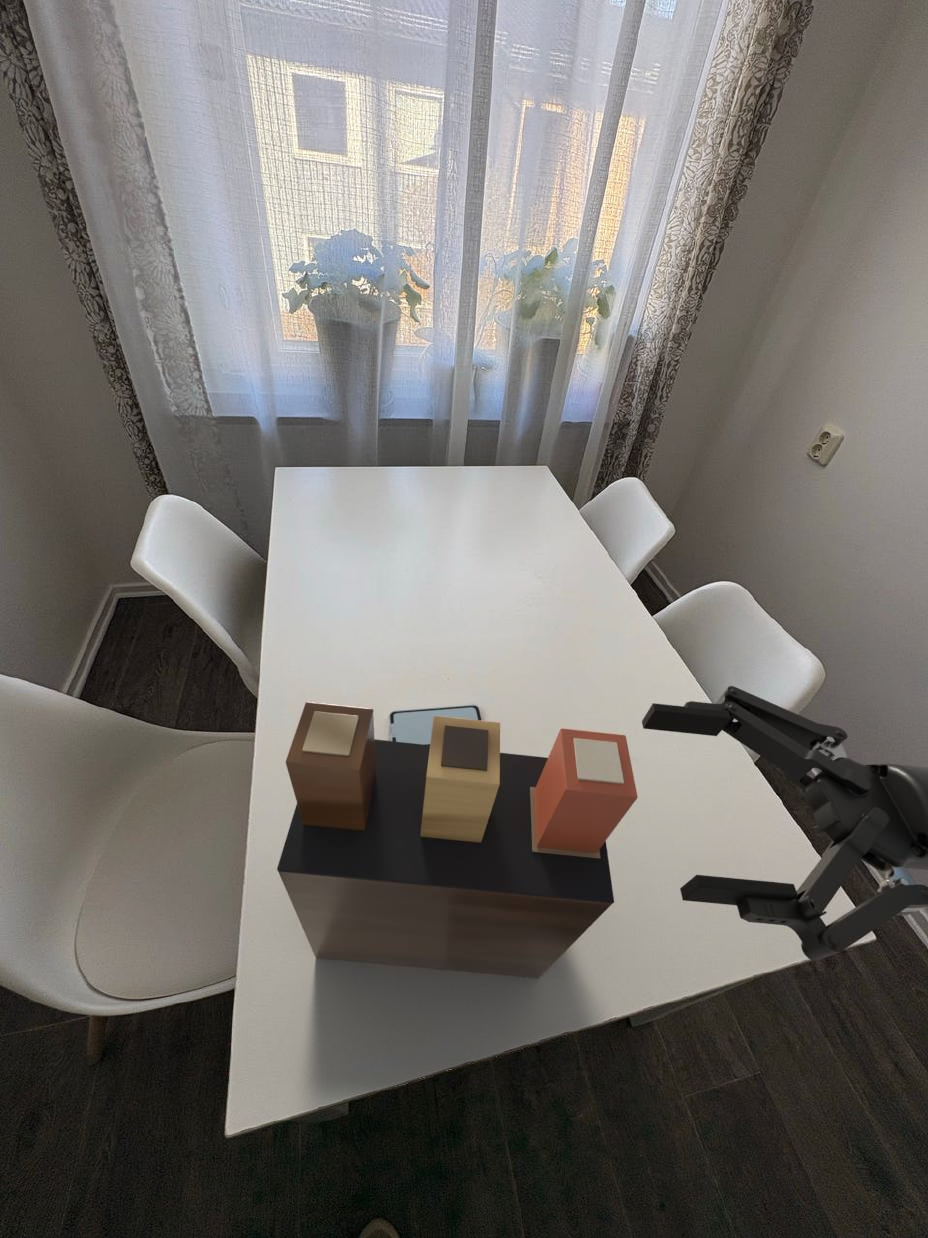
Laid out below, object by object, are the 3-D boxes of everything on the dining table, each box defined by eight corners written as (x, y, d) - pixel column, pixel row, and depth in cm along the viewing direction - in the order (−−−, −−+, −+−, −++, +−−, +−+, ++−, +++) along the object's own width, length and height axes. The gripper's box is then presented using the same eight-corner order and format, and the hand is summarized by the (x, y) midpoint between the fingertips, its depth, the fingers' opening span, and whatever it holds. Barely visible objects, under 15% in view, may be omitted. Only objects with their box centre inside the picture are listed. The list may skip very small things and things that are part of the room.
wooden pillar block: (481, 843, 42) (500, 783, 34) (420, 836, 42) (426, 775, 34) (483, 785, 45) (500, 720, 38) (426, 779, 45) (433, 713, 38)
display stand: (539, 979, 59) (612, 904, 40) (315, 958, 59) (277, 871, 39) (535, 870, 68) (594, 764, 48) (339, 851, 67) (318, 735, 48)
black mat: (612, 904, 40) (615, 902, 39) (277, 871, 39) (276, 868, 39) (594, 764, 48) (595, 761, 48) (318, 735, 48) (317, 732, 47)
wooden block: (364, 831, 41) (359, 768, 34) (302, 825, 41) (284, 760, 34) (376, 774, 45) (373, 707, 38) (319, 768, 45) (305, 699, 38)
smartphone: (488, 742, 80) (391, 751, 77) (487, 745, 81) (391, 754, 78) (478, 703, 85) (388, 710, 82) (478, 707, 86) (388, 714, 83)
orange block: (596, 853, 42) (639, 796, 35) (536, 847, 42) (566, 789, 35) (589, 796, 45) (626, 733, 38) (533, 790, 45) (561, 726, 38)
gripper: (1007, 1031, 33) (688, 1003, 33) (832, 711, 51) (622, 689, 50) (1124, 1012, 28) (746, 979, 27) (883, 663, 46) (650, 637, 45)
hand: (665, 791), depth 39 cm, fingers open, 13 cm apart
